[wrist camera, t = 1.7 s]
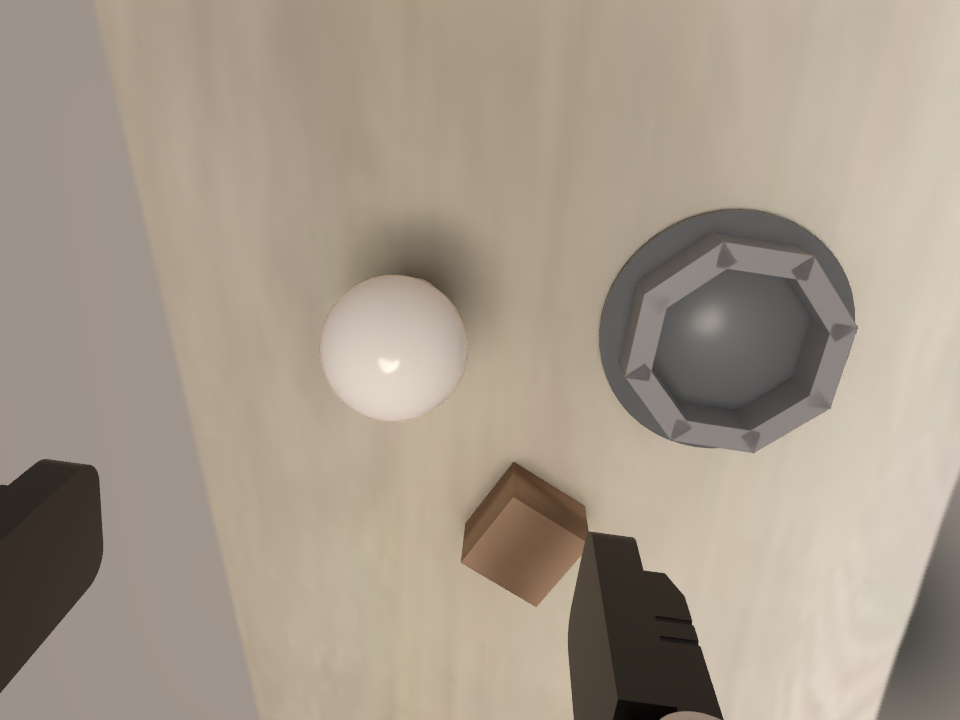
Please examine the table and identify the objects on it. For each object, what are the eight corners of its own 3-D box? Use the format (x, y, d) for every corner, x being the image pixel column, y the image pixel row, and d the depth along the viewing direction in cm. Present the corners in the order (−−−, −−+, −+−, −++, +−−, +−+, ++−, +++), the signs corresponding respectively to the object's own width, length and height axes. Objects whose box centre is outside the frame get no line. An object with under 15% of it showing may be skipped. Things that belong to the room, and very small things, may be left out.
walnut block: (465, 522, 45) (460, 562, 41) (513, 460, 43) (513, 497, 40) (534, 563, 46) (536, 607, 42) (584, 504, 44) (590, 544, 40)
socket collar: (551, 306, 40) (554, 324, 37) (772, 155, 37) (793, 162, 34) (681, 484, 43) (693, 512, 40) (895, 359, 40) (923, 381, 37)
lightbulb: (501, 291, 40) (496, 366, 29) (427, 377, 42) (398, 476, 31) (405, 214, 38) (364, 264, 28) (333, 306, 40) (271, 385, 30)
